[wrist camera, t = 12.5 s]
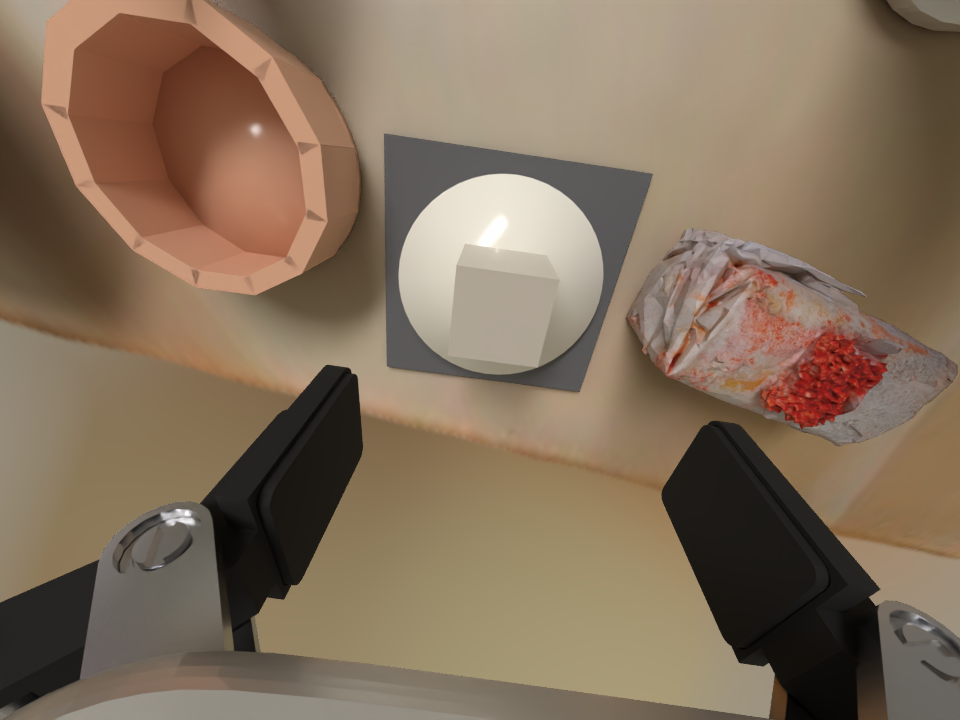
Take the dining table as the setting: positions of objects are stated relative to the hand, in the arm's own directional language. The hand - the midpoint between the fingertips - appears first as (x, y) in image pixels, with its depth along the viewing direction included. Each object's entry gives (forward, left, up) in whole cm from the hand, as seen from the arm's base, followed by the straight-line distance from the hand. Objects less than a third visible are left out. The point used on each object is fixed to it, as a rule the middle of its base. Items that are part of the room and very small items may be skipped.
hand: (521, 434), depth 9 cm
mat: (0, +1, -15) cm, 15 cm away
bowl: (+15, -4, -15) cm, 22 cm away
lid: (0, +1, -15) cm, 15 cm away
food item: (-15, 0, -16) cm, 21 cm away
